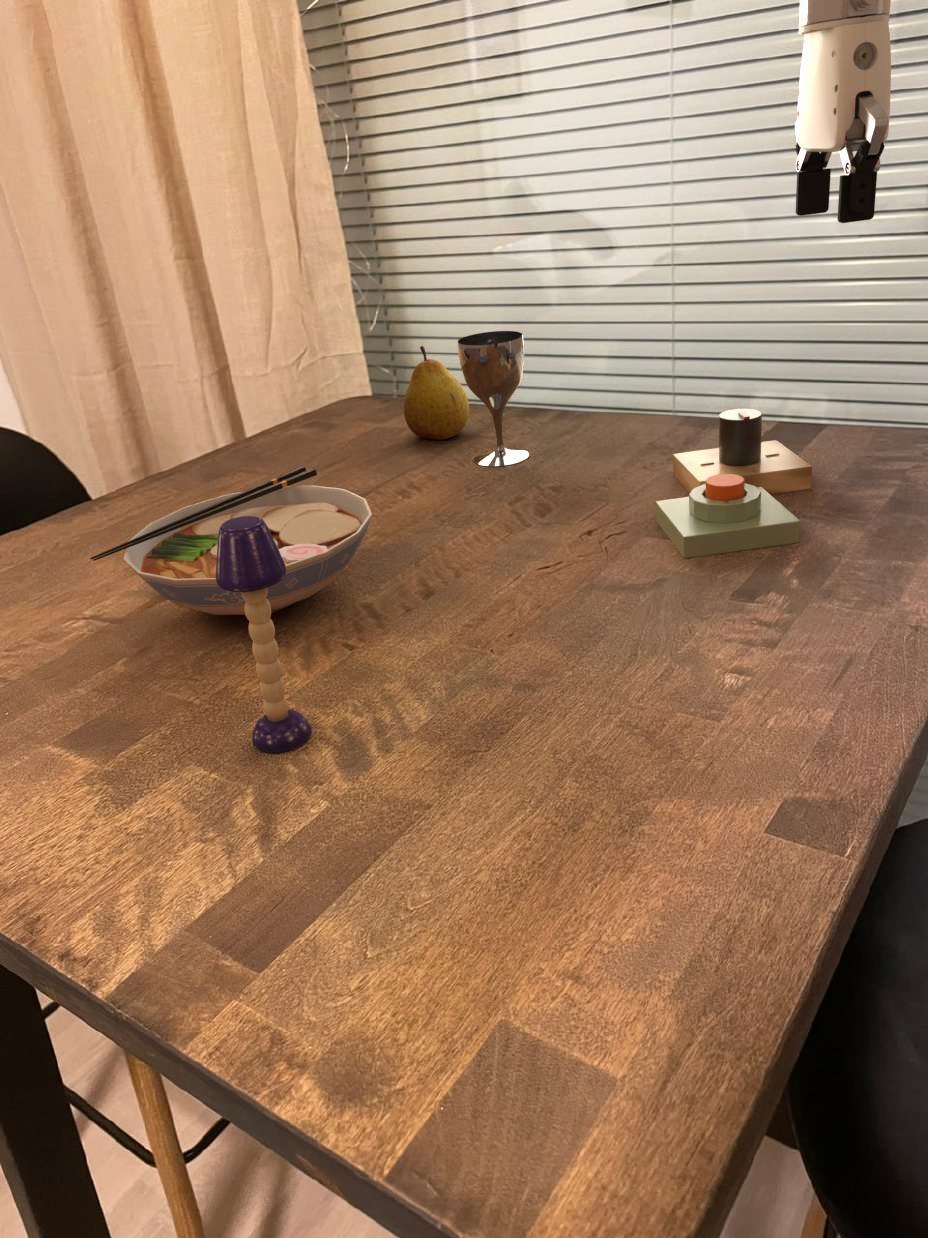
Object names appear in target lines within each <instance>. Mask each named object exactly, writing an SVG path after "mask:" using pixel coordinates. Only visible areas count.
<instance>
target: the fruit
mask: <svg viewBox="0 0 928 1238" xmlns="http://www.w3.org/2000/svg"><path fill="white" fill-rule="evenodd" d="M419 349H420V352H421V353H422V356H423V361H421V362H419V363H418V364H417V365H416V366H415V367H414V369H413V370H412V374H411V377H410V380H409V383H408V386H407V389H406V392H405V395H404V399H403V414H404V416H403V417H404V419H405V420H404V421H405V422H406V424H407V427H408V428H409V430H410V431H411V432H412V434H414V435H416V437H418V438H419V439H425V440H437V441H445V440H447V439H450V438H453V437H455V436H457V435H459V434H460V433H461V432H462V431H463V429H464V428H465V427H466V425H467V423H468V421H469V418H470V402H469V398H468V396H467V393H466V391H465V389H464V387H463V385H462V384H461V382H460V381H459V379H457V378H456V377H455V376H454V374H452V373H451V372H450V371H449V370H448V369H447V368H446V367H445V366H444V365H443V363H441V362H440V361H438V360H436V359H431V358H428V357H427V354H426V349H425V347H424V346H423V345H421V346H420V347H419ZM427 358H428V359H427Z"/></svg>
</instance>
